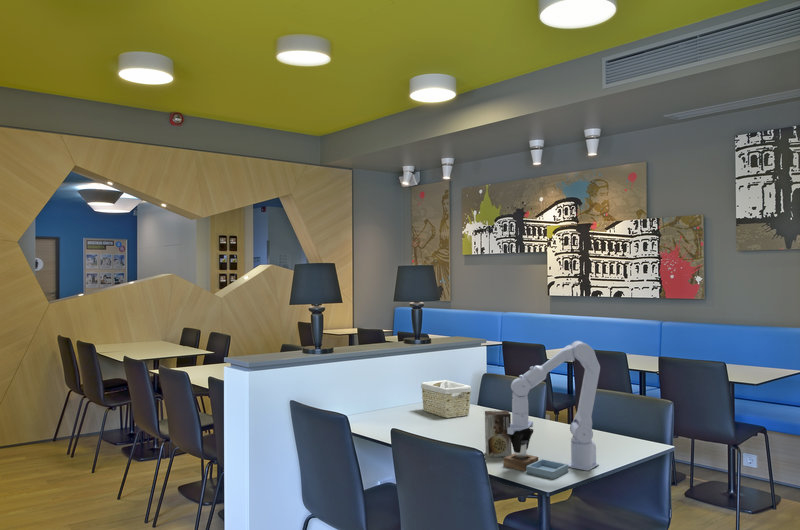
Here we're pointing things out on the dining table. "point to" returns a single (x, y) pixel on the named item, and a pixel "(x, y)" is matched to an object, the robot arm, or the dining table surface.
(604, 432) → the dining table surface
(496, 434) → the coffee box
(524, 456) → the glass jar
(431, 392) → the storage basket
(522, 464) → the wooden square frame
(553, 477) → the slate-blue tray
